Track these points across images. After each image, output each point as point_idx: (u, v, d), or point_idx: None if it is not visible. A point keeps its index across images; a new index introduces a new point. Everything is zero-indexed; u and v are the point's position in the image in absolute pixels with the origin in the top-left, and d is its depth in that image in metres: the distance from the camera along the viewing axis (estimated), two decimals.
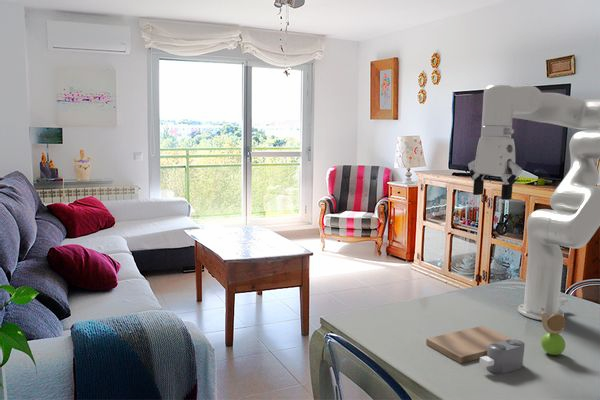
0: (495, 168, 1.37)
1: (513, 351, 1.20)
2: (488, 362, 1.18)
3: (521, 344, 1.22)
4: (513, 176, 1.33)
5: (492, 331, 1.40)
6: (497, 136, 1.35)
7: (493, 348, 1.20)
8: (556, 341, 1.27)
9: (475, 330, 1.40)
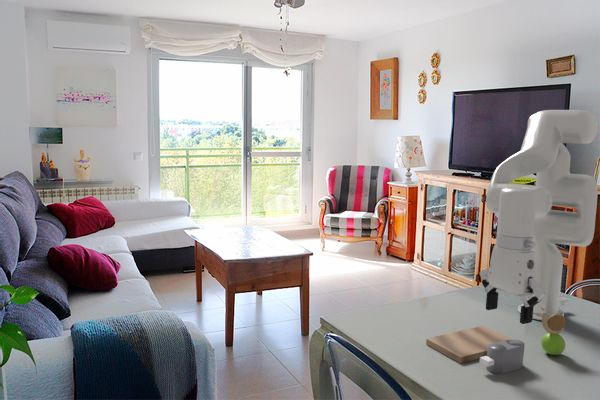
0: (513, 286, 1.16)
1: (513, 351, 1.20)
2: (488, 362, 1.18)
3: (521, 344, 1.22)
4: (535, 299, 1.13)
5: (492, 331, 1.40)
6: (516, 249, 1.14)
7: (493, 348, 1.20)
8: (556, 341, 1.27)
9: (475, 330, 1.40)
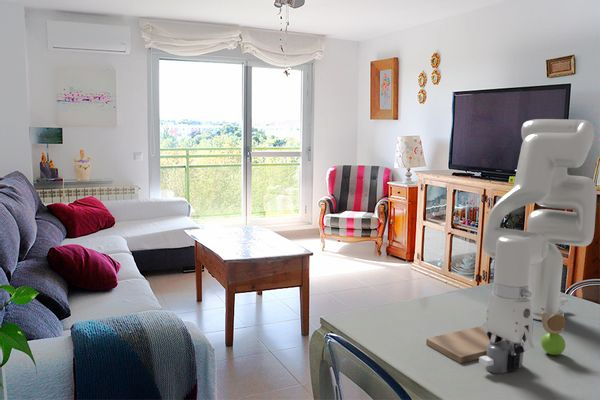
0: (509, 333, 1.18)
1: None
2: (488, 362, 1.18)
3: None
4: (521, 348, 1.17)
5: None
6: (512, 298, 1.16)
7: (492, 348, 1.19)
8: (556, 341, 1.27)
9: (475, 330, 1.40)
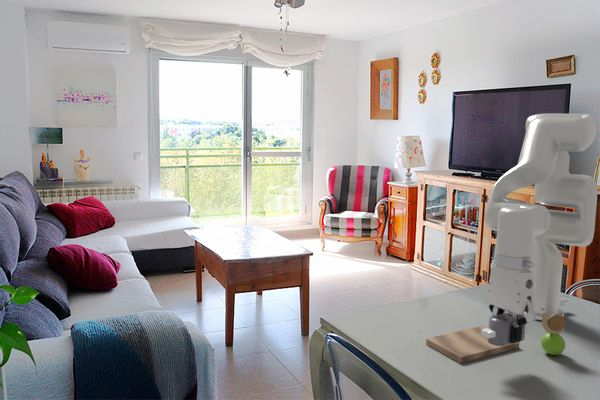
0: (512, 305, 1.17)
1: None
2: (490, 334, 1.17)
3: None
4: (523, 319, 1.16)
5: None
6: (514, 269, 1.15)
7: (494, 320, 1.18)
8: (556, 341, 1.27)
9: (475, 330, 1.40)
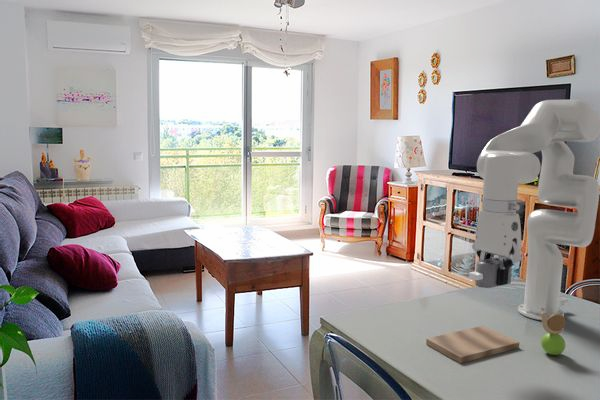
0: (498, 247, 1.21)
1: None
2: (477, 276, 1.21)
3: None
4: (509, 261, 1.20)
5: (492, 331, 1.40)
6: (500, 212, 1.19)
7: (482, 263, 1.22)
8: (556, 341, 1.27)
9: (475, 330, 1.40)
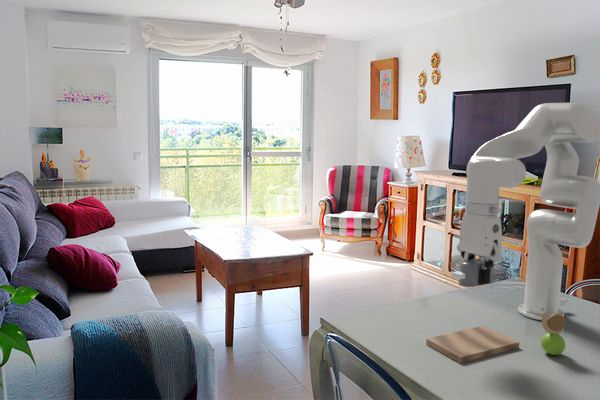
0: (480, 248, 1.27)
1: None
2: (460, 275, 1.27)
3: None
4: (490, 262, 1.26)
5: (492, 331, 1.40)
6: (482, 215, 1.25)
7: (464, 263, 1.28)
8: (556, 341, 1.27)
9: (475, 330, 1.40)
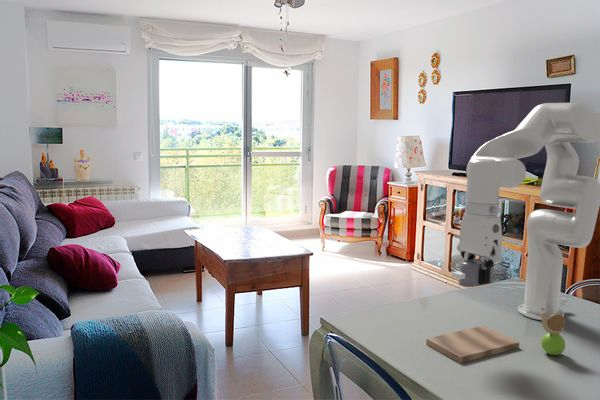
0: (480, 248, 1.27)
1: None
2: (460, 275, 1.27)
3: None
4: (490, 262, 1.26)
5: (492, 331, 1.40)
6: (482, 215, 1.25)
7: (464, 263, 1.28)
8: (556, 341, 1.27)
9: (475, 330, 1.40)
